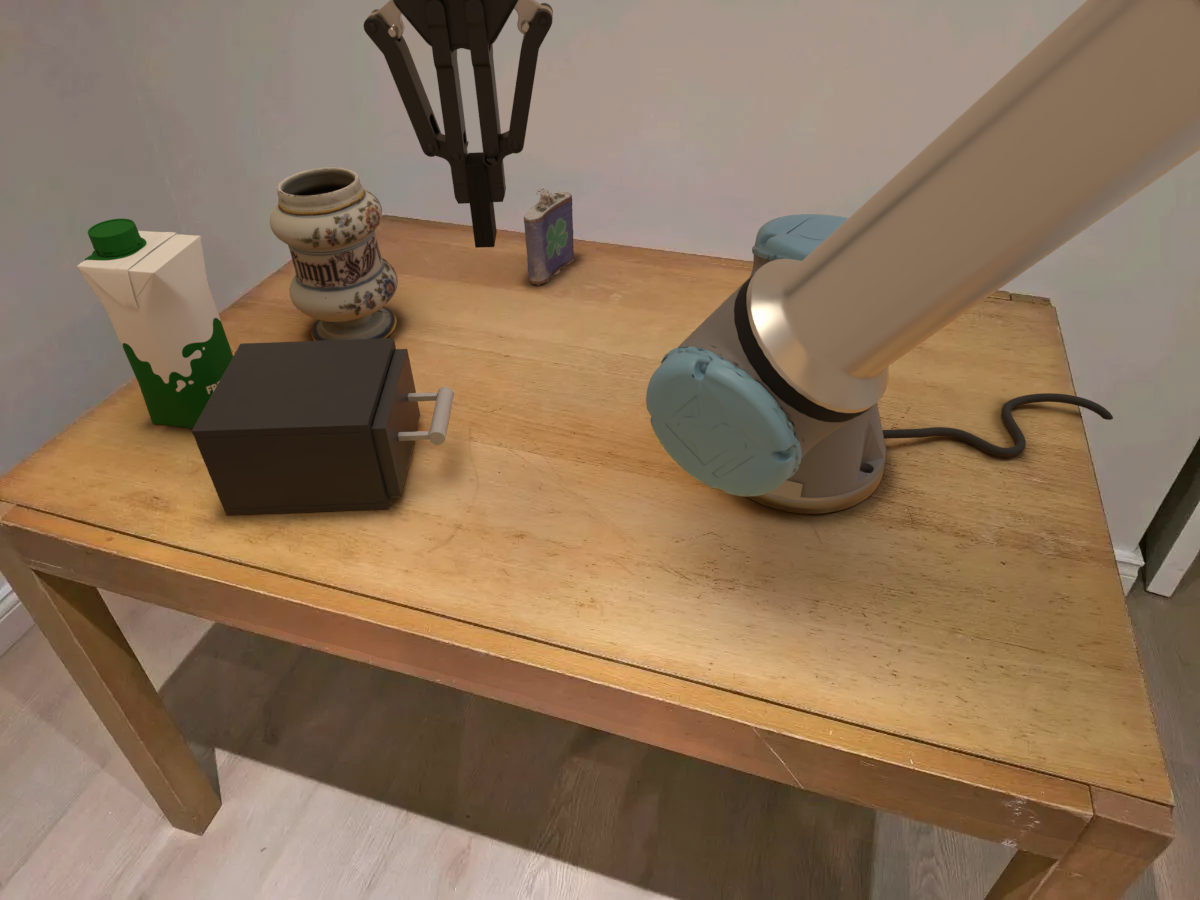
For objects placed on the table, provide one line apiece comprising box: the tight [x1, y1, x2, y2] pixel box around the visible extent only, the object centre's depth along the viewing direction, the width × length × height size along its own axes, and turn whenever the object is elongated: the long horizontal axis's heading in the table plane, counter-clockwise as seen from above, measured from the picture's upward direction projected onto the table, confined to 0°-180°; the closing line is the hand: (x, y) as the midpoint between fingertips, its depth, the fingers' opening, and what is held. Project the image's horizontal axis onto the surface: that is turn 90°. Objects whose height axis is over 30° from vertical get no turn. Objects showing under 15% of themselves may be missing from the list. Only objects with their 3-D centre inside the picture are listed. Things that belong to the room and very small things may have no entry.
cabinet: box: [191, 337, 397, 516], centre depth 80 cm, size 15×14×10 cm
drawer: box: [371, 348, 455, 498], centre depth 80 cm, size 18×12×8 cm
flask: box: [523, 187, 575, 287], centre depth 109 cm, size 9×3×11 cm, turn 150°
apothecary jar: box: [269, 166, 399, 341], centre depth 97 cm, size 12×12×18 cm
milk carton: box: [76, 218, 234, 429], centre depth 85 cm, size 9×9×20 cm
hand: (486, 239), depth 69 cm, fingers closed
